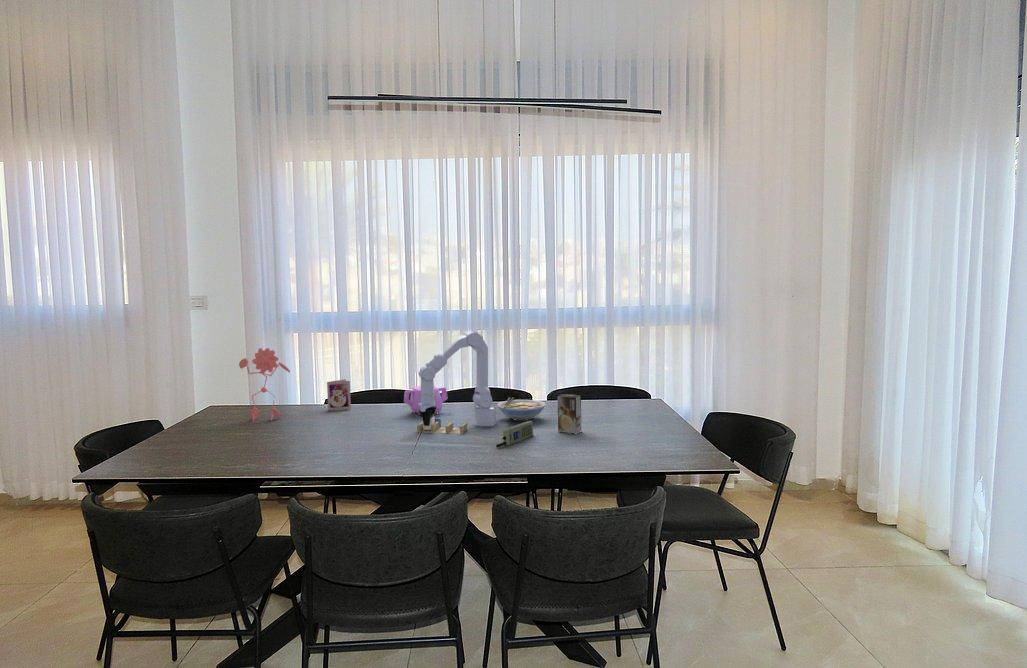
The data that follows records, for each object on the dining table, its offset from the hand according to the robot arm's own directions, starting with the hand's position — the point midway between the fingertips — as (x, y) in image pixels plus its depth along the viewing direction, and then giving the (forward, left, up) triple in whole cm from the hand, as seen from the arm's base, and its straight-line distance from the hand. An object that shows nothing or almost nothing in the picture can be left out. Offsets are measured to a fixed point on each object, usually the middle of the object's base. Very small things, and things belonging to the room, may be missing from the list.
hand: (428, 424), depth 283 cm
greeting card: (+63, -44, -4) cm, 77 cm away
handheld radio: (-40, +11, -4) cm, 42 cm away
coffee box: (-61, -9, -4) cm, 62 cm away
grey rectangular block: (0, 0, -2) cm, 2 cm away
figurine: (+88, -18, -4) cm, 90 cm away
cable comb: (-6, -2, -4) cm, 7 cm away
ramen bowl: (-36, -31, -4) cm, 48 cm away
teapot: (+14, -39, -4) cm, 41 cm away
